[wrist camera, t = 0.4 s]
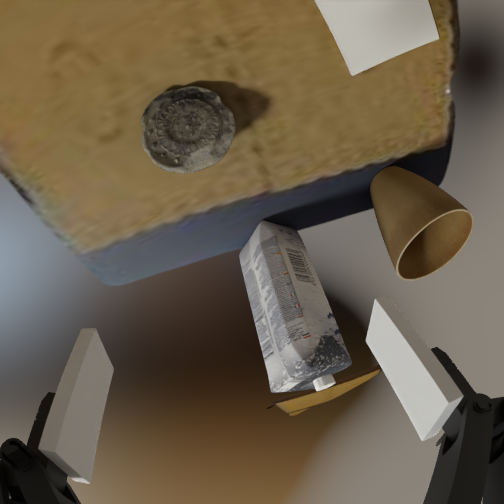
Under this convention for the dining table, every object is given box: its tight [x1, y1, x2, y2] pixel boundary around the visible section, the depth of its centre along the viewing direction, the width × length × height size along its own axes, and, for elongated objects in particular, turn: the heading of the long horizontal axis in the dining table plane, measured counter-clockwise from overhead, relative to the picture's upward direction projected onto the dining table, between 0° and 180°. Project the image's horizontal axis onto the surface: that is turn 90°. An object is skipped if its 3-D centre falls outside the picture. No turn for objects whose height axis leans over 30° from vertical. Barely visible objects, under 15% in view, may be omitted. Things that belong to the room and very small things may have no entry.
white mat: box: [315, 0, 439, 76], centre depth 26 cm, size 16×16×1 cm
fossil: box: [141, 86, 236, 173], centre depth 34 cm, size 11×9×10 cm
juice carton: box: [239, 221, 352, 392], centre depth 46 cm, size 9×10×27 cm
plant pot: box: [370, 166, 474, 281], centre depth 44 cm, size 15×15×16 cm
